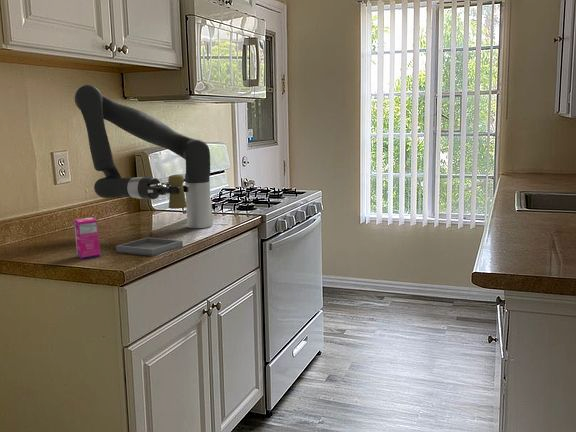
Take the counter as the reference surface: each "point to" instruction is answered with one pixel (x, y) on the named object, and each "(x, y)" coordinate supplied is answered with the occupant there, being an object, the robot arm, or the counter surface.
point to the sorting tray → (149, 246)
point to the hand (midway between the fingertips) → (183, 189)
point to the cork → (177, 199)
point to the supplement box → (87, 238)
